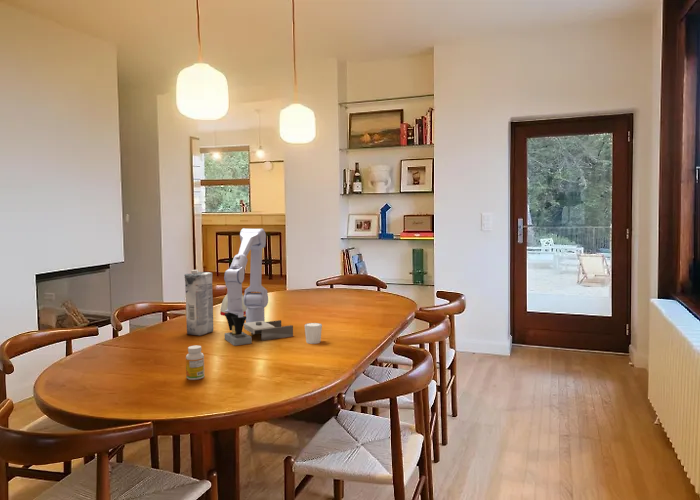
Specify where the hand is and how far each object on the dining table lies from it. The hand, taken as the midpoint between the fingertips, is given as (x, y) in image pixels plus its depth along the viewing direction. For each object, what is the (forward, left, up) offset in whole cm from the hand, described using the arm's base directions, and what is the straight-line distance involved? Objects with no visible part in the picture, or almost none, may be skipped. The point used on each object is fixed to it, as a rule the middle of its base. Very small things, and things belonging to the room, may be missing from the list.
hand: (235, 332), depth 209 cm
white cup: (+20, +25, -3) cm, 32 cm away
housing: (+1, +15, -3) cm, 16 cm away
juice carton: (-19, -9, -3) cm, 22 cm away
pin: (0, 0, -3) cm, 3 cm away
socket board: (+3, 0, -3) cm, 4 cm away
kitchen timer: (-52, +17, -3) cm, 55 cm away
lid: (+1, +10, 0) cm, 10 cm away
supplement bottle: (+39, -26, -3) cm, 47 cm away
